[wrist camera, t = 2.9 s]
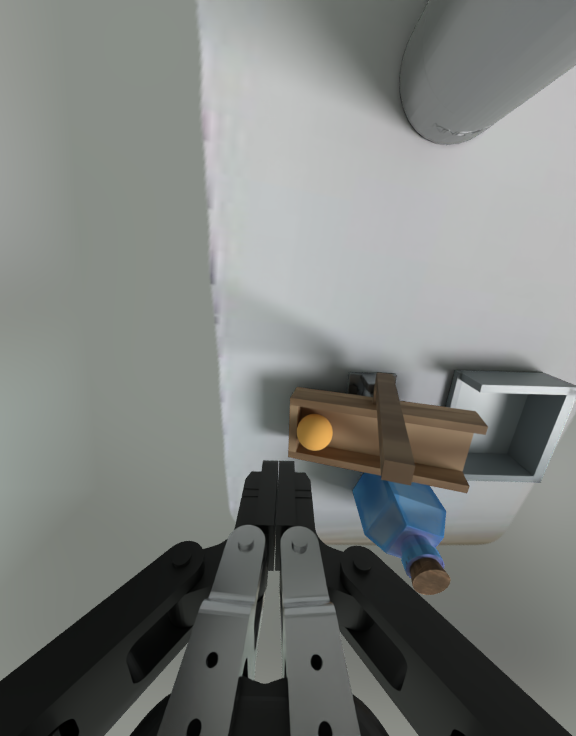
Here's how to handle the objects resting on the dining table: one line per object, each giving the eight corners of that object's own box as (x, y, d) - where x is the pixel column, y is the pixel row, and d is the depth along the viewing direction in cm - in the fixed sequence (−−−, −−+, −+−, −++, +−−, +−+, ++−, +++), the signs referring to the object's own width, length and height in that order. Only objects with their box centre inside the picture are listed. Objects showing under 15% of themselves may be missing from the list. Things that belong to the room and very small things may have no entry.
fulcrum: (348, 372, 30) (355, 383, 27) (394, 373, 30) (406, 385, 27) (340, 449, 33) (345, 467, 30) (381, 450, 33) (390, 468, 30)
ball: (301, 405, 29) (294, 422, 25) (335, 410, 28) (332, 428, 25) (299, 434, 30) (292, 454, 27) (332, 439, 29) (329, 461, 26)
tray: (454, 370, 29) (478, 384, 26) (543, 372, 29) (580, 387, 26) (433, 456, 33) (451, 480, 29) (512, 458, 33) (540, 482, 29)
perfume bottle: (419, 469, 34) (483, 569, 23) (394, 505, 36) (442, 613, 25) (375, 454, 33) (419, 548, 22) (352, 490, 35) (381, 595, 24)
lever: (298, 359, 28) (238, 432, 15) (485, 379, 24) (621, 504, 11) (294, 442, 32) (243, 559, 19) (457, 472, 27) (538, 650, 14)
